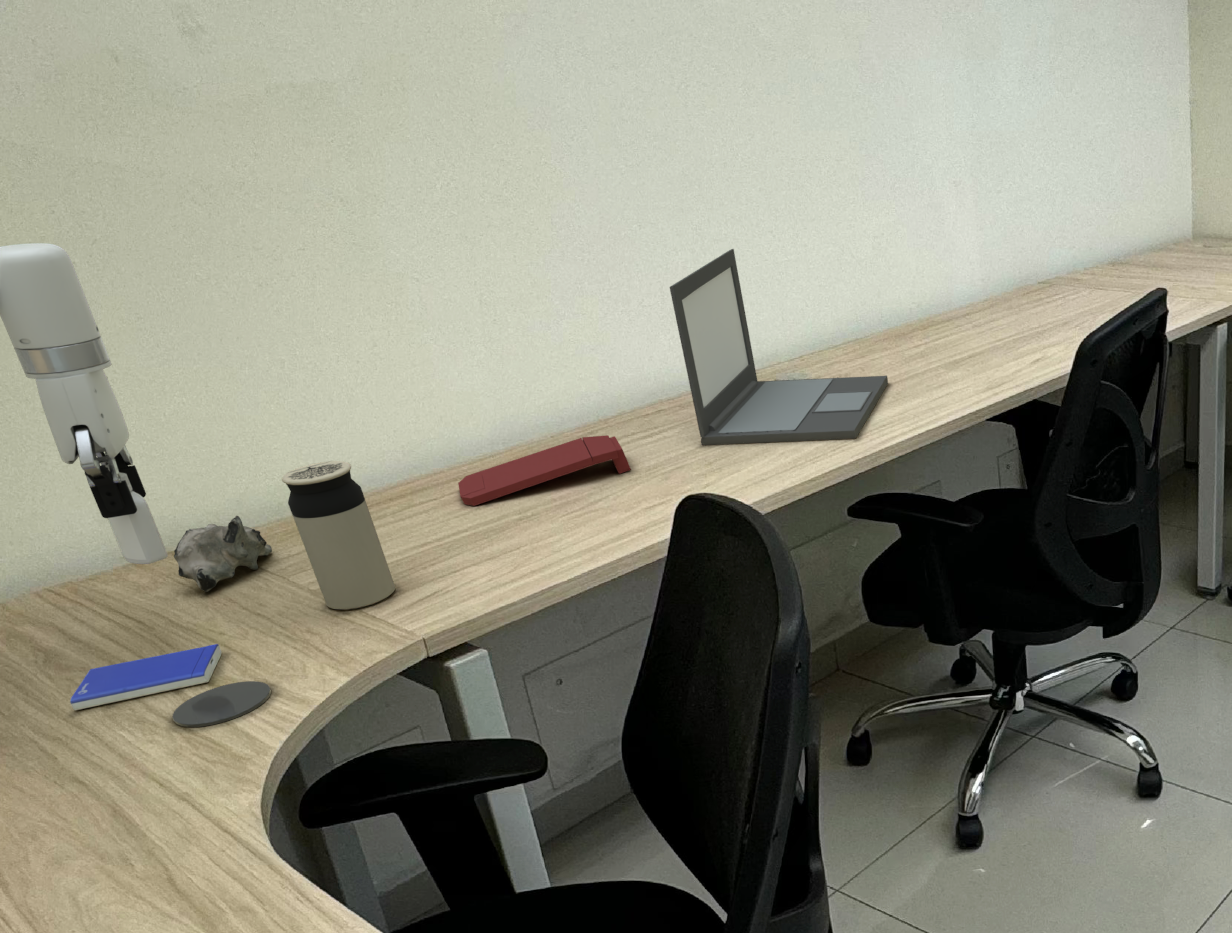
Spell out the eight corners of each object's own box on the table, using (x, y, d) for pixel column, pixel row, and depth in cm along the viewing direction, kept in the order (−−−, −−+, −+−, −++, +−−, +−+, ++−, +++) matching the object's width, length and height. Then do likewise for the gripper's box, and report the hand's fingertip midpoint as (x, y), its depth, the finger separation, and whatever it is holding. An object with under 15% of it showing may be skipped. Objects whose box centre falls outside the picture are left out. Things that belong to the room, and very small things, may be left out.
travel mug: (403, 596, 152) (359, 469, 144) (334, 617, 147) (285, 487, 139) (387, 579, 157) (345, 455, 149) (321, 598, 152) (273, 471, 144)
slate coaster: (167, 736, 122) (166, 733, 122) (180, 699, 130) (178, 696, 129) (267, 711, 126) (266, 708, 126) (274, 676, 134) (273, 673, 133)
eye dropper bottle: (122, 570, 136) (83, 475, 131) (124, 555, 140) (86, 463, 135) (168, 561, 138) (131, 467, 133) (169, 546, 142) (133, 455, 138)
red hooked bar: (475, 528, 182) (633, 473, 191) (461, 501, 179) (621, 446, 188) (470, 504, 191) (621, 453, 200) (457, 478, 189) (610, 427, 198)
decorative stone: (199, 554, 165) (193, 490, 161) (277, 556, 169) (272, 493, 165) (167, 603, 152) (159, 534, 148) (252, 604, 156) (246, 537, 152)
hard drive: (68, 700, 127) (203, 672, 132) (90, 667, 134) (217, 641, 139) (74, 712, 128) (208, 683, 133) (96, 678, 134) (222, 653, 139)
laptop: (855, 439, 203) (832, 279, 191) (700, 446, 203) (667, 286, 191) (888, 383, 235) (869, 242, 223) (753, 389, 235) (728, 249, 223)
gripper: (40, 347, 134) (100, 491, 142) (0, 379, 120) (69, 537, 128) (120, 338, 137) (175, 480, 145) (91, 369, 124) (152, 523, 131)
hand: (125, 505), depth 136 cm, fingers closed on eye dropper bottle, 5 cm apart
